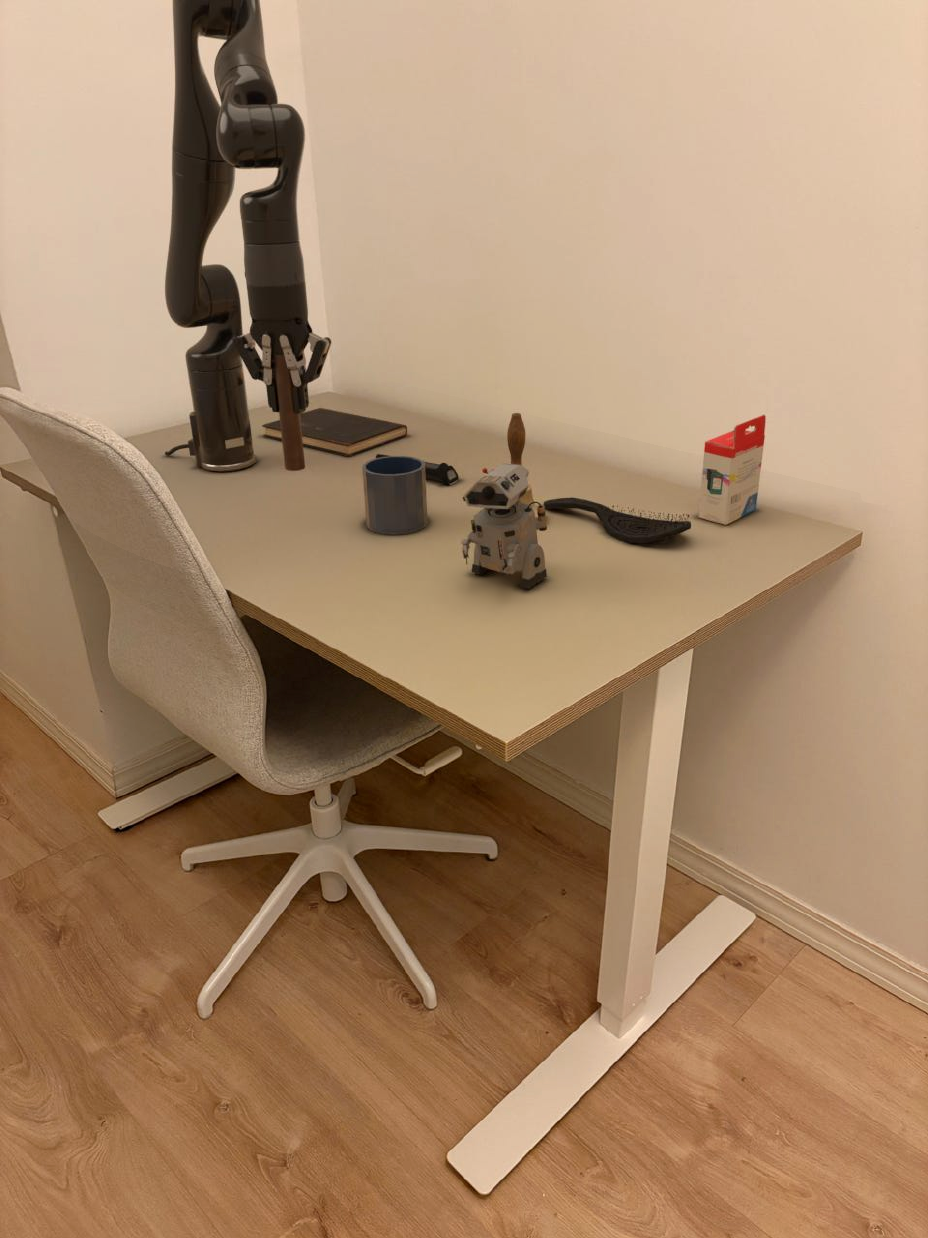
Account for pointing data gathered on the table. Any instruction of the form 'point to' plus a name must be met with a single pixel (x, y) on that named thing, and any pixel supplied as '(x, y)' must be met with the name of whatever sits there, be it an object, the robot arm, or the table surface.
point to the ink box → (732, 473)
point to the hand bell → (519, 451)
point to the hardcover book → (341, 431)
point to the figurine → (505, 526)
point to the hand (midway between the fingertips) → (289, 410)
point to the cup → (395, 495)
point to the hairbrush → (625, 521)
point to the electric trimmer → (437, 472)
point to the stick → (288, 417)
